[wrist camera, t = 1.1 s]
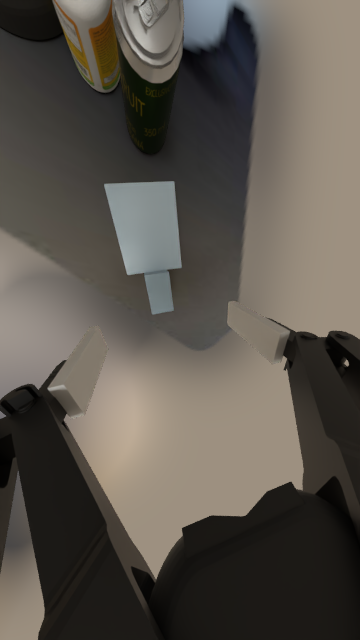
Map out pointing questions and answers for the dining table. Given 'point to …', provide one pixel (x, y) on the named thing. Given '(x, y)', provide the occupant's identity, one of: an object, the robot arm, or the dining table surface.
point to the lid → (148, 235)
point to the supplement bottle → (91, 40)
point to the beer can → (148, 65)
